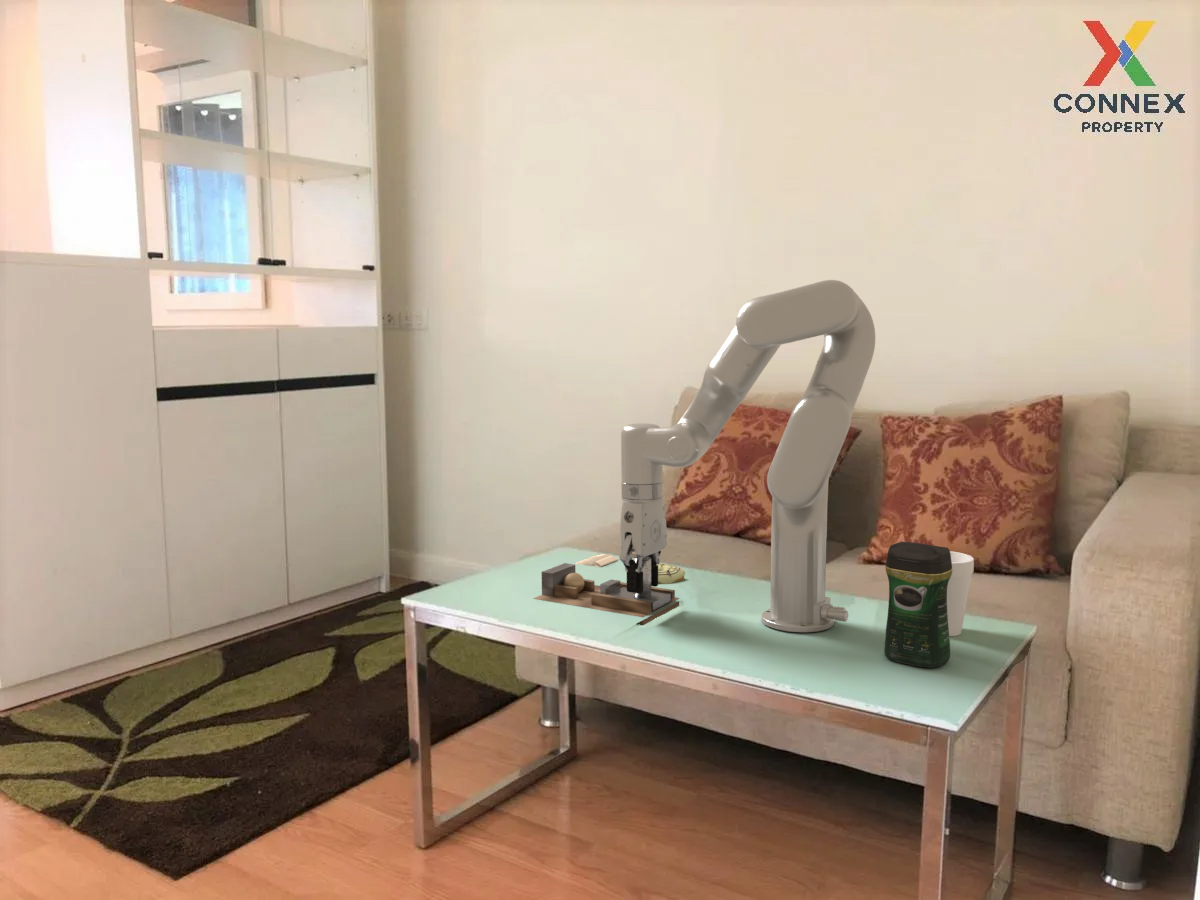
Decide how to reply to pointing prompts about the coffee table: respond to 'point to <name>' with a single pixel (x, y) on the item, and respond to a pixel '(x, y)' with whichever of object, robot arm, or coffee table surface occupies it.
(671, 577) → the decorated donut
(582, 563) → the newspaper
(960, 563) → the foam cup
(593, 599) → the brown piece
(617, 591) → the ram
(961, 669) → the coffee table surface
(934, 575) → the coffee jar
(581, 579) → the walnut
